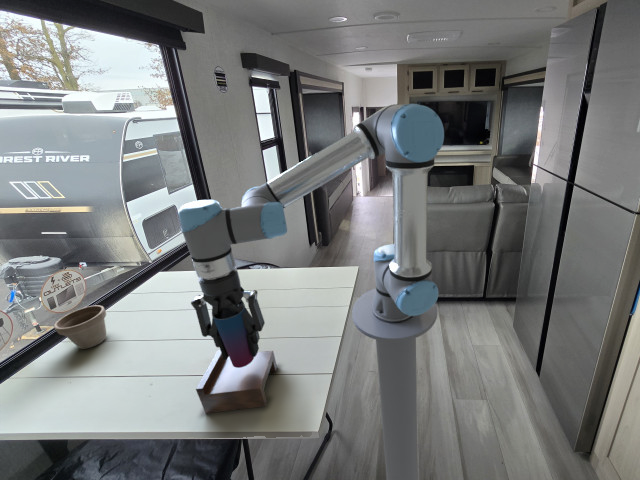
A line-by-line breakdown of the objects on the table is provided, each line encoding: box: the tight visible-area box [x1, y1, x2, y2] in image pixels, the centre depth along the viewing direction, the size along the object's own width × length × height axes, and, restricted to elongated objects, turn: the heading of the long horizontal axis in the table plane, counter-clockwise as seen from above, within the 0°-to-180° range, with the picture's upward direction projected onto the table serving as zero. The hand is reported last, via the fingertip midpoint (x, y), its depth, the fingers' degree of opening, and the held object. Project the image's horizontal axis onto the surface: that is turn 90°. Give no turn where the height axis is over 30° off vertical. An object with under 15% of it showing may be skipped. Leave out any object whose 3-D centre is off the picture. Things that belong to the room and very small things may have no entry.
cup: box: [211, 303, 254, 368], centre depth 73 cm, size 7×7×15 cm
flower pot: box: [53, 304, 107, 350], centre depth 96 cm, size 12×11×10 cm
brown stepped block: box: [195, 349, 278, 414], centre depth 78 cm, size 14×12×8 cm
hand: (241, 353), depth 75 cm, fingers closed on cup, 6 cm apart
